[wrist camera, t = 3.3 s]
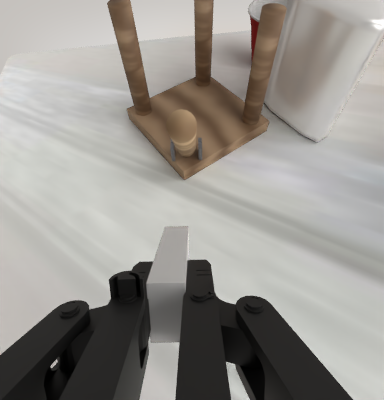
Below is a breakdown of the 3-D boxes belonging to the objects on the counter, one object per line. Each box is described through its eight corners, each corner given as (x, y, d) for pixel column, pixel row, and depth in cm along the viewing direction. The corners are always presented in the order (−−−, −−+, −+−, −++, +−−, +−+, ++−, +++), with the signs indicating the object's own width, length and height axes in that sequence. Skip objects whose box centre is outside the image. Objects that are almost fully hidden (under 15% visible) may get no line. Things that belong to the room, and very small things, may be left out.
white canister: (259, 103, 55) (290, -27, 36) (305, 80, 59) (355, -49, 40) (313, 146, 48) (385, 12, 30) (362, 116, 52) (452, -19, 33)
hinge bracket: (202, 160, 44) (202, 148, 41) (171, 161, 44) (170, 149, 41) (201, 149, 45) (201, 137, 43) (172, 150, 45) (170, 138, 43)
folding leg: (196, 156, 43) (197, 139, 27) (177, 157, 43) (166, 140, 27) (195, 137, 42) (196, 108, 27) (176, 137, 43) (165, 109, 27)
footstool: (184, 180, 45) (174, 65, 27) (129, 118, 54) (94, 1, 36) (266, 130, 51) (302, 9, 33) (204, 82, 59) (207, -34, 42)
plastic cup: (231, 63, 63) (237, 6, 53) (258, 46, 67) (269, -10, 57) (267, 81, 59) (281, 23, 49) (294, 62, 63) (312, 4, 53)
